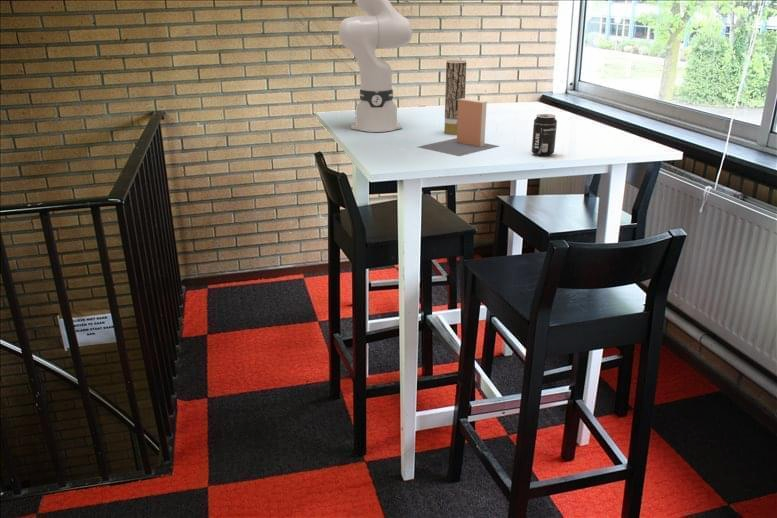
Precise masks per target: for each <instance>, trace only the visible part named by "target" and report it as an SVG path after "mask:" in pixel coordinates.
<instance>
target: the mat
mask: <svg viewBox="0 0 777 518" xmlns="http://www.w3.org/2000/svg"><path fill="white" fill-rule="evenodd" d="M499 147H500V145H495V144H491V143H486V142H485V143H484V146H481V147H480V146H475V145H470V144H465V143H460V142H457V137H456V138H450V139H447V140H443V141H437V142H433V143H429V144H428V143H427V144H423V145H419V146H417V148H418V149H419V148H420V149H425V150H429V151H434V152H438V153H443V154H447V155H451V156H456V157H462V156H465V155H470V154H474V153H479V152H481V151H486V150H490V149H494V148H499Z"/></svg>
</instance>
